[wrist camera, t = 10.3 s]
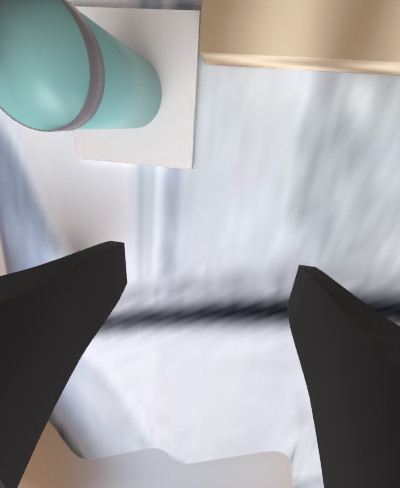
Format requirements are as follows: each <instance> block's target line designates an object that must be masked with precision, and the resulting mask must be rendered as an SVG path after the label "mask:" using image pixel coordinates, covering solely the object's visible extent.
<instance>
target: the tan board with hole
mask: <svg viewBox="0 0 400 488" xmlns="http://www.w3.org/2000/svg"><path fill="white" fill-rule="evenodd" d="M199 53H200V55H201V57H202V59H203V61H204V62H205V64H206V65H221V66H239V67H258V68H276V69H294V70H312V71H331V72H349V73H367V74H386V75H400V0H202V7H201V25H200V44H199Z"/></svg>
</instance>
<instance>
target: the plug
mask: <svg viewBox="0 0 400 488" xmlns="http://www.w3.org/2000/svg"><path fill="white" fill-rule="evenodd" d="M161 99H162V90H161V84H160V80H159V77H158V75H157V73H156V71H155V69H154V68H153V66H152V65H151V64H150V63H149V62H148V61H147V60H146V59H145V58H143V57H142V56H140V55H139V54H138V53H136V52H135V51H133V50H132V49H131V48H129V47H128V46H127V45H125V44H124V43H122V42H121V41H120V40H118V39H117V38H116V37H114V36H113V35H111V34H110V33H109V32H107V31H106V30H104V29H103V28H102V27H100V26H99V25H98V24H96V23H95V22H93V21H92V20H91V19H89V18H88V17H87V16H85V15H84V14H82V13H81V12H80V11H78V10H77V9H76V8H75V7H74V6H73V5H72V4H71V3H70V2H69V1H67V0H0V108H1V109H2V110H3V111H4V112H5V113H6V114H7V115H8V116H10V117H11V118H12V119H13V120H15V121H17V122H18V123H20V124H22V125H24V126H26V127H28V128H31V129H34V130H38V131H48V132H50V131H70V130H78V129H125V128H140V127H143V126H145V125H147V124H149V123H150V122H151V121H152V120H153V119H154V118H155V116H156V115H157V113H158V111H159V108H160V105H161Z"/></svg>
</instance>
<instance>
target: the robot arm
mask: <svg viewBox="0 0 400 488" xmlns="http://www.w3.org/2000/svg"><path fill="white" fill-rule="evenodd" d="M126 284H127V274H126V261H125V247H124V243H122V242H114V241H108V242H104V243H101V244H98V245H95V246H92V247H90V248H87V249H84V250H82V251H79V252H76V253H74V254H71V255H68V256H65V257H63V258H60V259H57V260H54V261H51V262H48V263H45V264H42V265H39V266H36V267H33V268H29V269H26V270H22V271H19V272H15V273H11V274H7V275H3V276H0V488H17V487H18V485H19V483H20V480H21V478H22V476H23V474H24V471H25V469H26V467H27V464H28V462H29V460H30V458H31V456H32V453H33V451H34V449H35V447H36V444H37V442H38V440H39V438H40V436H41V434H42V432H43V430H44V428H45V426H46V423H47V422H48V420H49V417H50V415H51V413H52V411H53V409H54V407H55V405H56V403H57V401H58V399H59V397H60V395H61V394H62V392H63V390H64V388H65V386H66V384H67V382H68V380H69V378H70V376H71V374H72V373H73V371H74V369H75V367H76V365H77V364H78V362H79V360H80V358H81V356H82V355H83V353H84V352H85V350H86V348H87V347H88V345H89V344H90V342H91V341H92V339H93V338H94V336H95V335H96V334H97V332H98V331H99V329H100V328H101V326H102V325H103V323H104V322H105V321H106V319H107V318H108V316H109V315H110V313H111V312H112V310H113V309H114V307H115V306H116V304H117V303H118V301H119V299H120V297H121V295H122V293H123V291H124V289H125V287H126ZM288 315H289V322H290V328H291V332H292V336H293V339H294V343H295V346H296V350H297V353H298V357H299V360H300V364H301V367H302V371H303V374H304V377H305V381H306V385H307V389H308V393H309V397H310V402H311V408H312V413H313V419H314V424H315V430H316V436H317V443H318V449H319V455H320V461H321V468H322V475H323V483H324V488H400V326H399V325H397V324H395V323H394V322H392V321H391V320H389V319H387V318H386V317H384V316H383V315H381V314H380V313H379V312H377V311H376V310H374V309H373V308H371V307H370V306H368V305H367V304H365V303H364V302H363V301H361V300H360V299H358V298H357V297H356V296H354V295H353V294H352V293H350V292H349V291H348V290H346V289H345V288H344V287H342V286H341V285H340V284H338V283H337V282H336V281H334V280H333V279H332V278H330V277H329V276H328V275H326V274H325V273H324V272H322V271H321V270H319V269H318V268H316V267H311V266H303V265H299V267H298V271H297V274H296V278H295V281H294V285H293V288H292V292H291V295H290V299H289V302H288Z"/></svg>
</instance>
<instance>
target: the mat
mask: <svg viewBox="0 0 400 488" xmlns="http://www.w3.org/2000/svg"><path fill="white" fill-rule="evenodd" d="M74 7H75V8H76V9H77V10H78V11H80V12H81V13H82V14H84V15H85V16H87V17H88V18H89V19H91V20H92V21H93V22H95V23H96V24H98V25H99V26H100V27H102V28H103V29H104V30H106V31H107V32H109V33H110V34H111V35H113V36H114V37H116V38H117V39H118V40H120V41H121V42H122V43H124V44H125V45H127V46H128V47H129V48H131V49H132V50H133V51H135V52H136V53H138V54H139V55H140V56H142V57H143V58H145V59H146V60H147V61H148V62H149V63H150V64H151V65H152V66H153V68H154V69H155V71H156V73H157V75H158V77H159V80H160V84H161V90H162V99H161V105H160V108H159V111H158V113H157V115H156V116H155V118H154V119H153V120H152V121H151V122H150V123H149V124H147V125H145V126H143V127H140V128H125V129H78V130H73V131H74V138H75V145H76V152H77V159H88V160H98V161H109V162H119V163H130V164H140V165H151V166H161V167H172V168H182V169H192V165H193V147H194V128H195V110H196V91H197V72H198V54H199V35H200V17H201V13H200V11H198V10H168V9H139V8H109V7H80V6H74Z"/></svg>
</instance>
